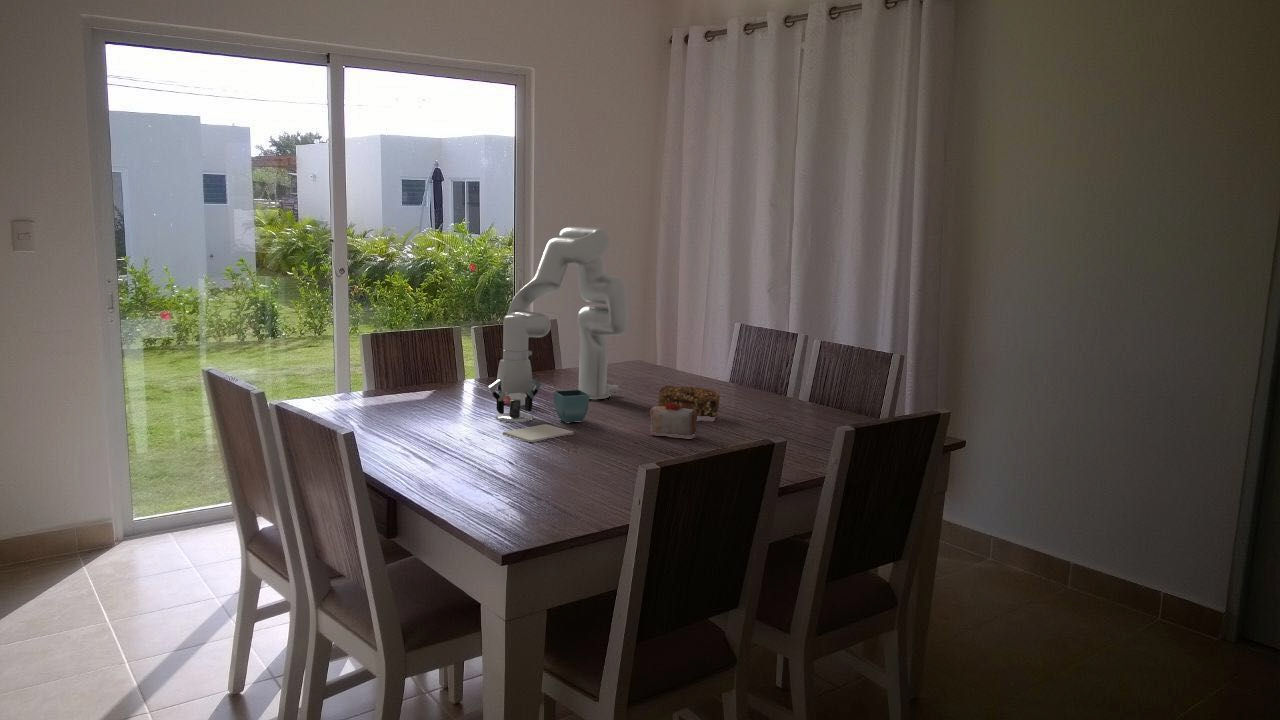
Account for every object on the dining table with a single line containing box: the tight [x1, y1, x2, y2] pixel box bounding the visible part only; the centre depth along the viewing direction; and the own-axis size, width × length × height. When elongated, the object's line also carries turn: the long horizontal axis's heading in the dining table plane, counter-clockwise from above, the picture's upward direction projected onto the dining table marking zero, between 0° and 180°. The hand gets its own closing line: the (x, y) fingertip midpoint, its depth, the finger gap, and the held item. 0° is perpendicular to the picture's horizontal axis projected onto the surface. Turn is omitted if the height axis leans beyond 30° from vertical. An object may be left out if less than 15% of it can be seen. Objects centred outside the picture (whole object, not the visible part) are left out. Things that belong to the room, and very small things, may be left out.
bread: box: [657, 385, 721, 417], centre depth 293 cm, size 19×11×10 cm, turn 81°
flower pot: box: [552, 389, 590, 423], centre depth 281 cm, size 9×9×9 cm
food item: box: [649, 402, 697, 435], centre depth 269 cm, size 14×8×10 cm, turn 73°
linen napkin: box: [502, 423, 574, 443], centre depth 264 cm, size 16×12×1 cm
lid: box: [495, 399, 534, 423], centre depth 283 cm, size 11×11×6 cm
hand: (514, 411), depth 283 cm, fingers open, 8 cm apart
